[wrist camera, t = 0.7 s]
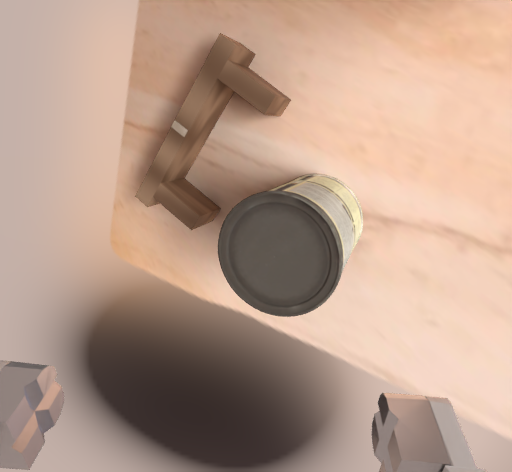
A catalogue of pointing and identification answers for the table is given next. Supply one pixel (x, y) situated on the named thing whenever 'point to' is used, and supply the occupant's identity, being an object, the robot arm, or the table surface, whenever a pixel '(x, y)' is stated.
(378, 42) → the table surface
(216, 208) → the walnut rail
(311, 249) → the coffee can
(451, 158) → the table surface
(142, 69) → the table surface
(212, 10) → the table surface
